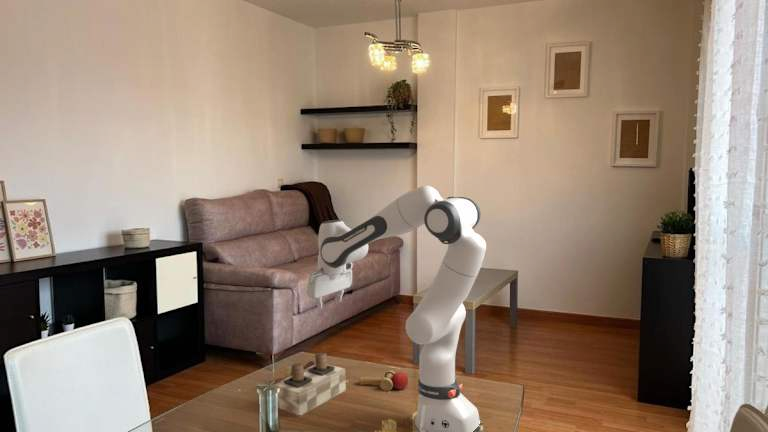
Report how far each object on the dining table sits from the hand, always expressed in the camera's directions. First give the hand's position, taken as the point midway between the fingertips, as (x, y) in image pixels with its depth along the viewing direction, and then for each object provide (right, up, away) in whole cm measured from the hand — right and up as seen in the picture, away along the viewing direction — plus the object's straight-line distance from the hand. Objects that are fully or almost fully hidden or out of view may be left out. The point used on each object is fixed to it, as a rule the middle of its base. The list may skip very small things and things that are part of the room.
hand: (329, 304), depth 199 cm
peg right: (-3, -27, +5) cm, 27 cm away
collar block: (-7, -33, +1) cm, 33 cm away
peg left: (-10, -28, -5) cm, 30 cm away
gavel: (-11, -31, +24) cm, 40 cm away
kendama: (+19, -32, +10) cm, 38 cm away
